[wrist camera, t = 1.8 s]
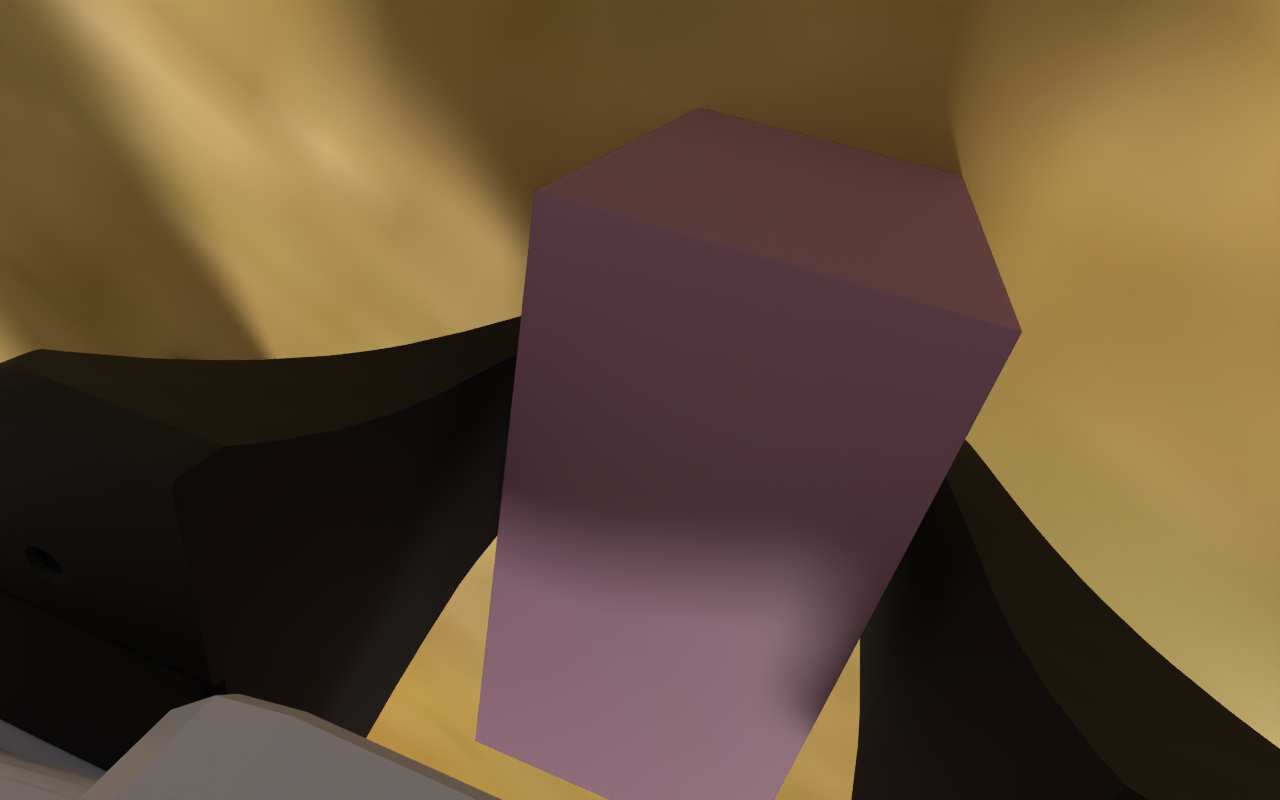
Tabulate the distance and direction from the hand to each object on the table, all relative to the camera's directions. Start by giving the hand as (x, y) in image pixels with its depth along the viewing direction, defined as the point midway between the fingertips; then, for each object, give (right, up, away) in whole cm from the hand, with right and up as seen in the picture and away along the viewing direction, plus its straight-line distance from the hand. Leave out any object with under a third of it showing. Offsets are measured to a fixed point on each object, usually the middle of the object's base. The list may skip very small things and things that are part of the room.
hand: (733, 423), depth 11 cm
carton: (+1, +1, +2) cm, 2 cm away
